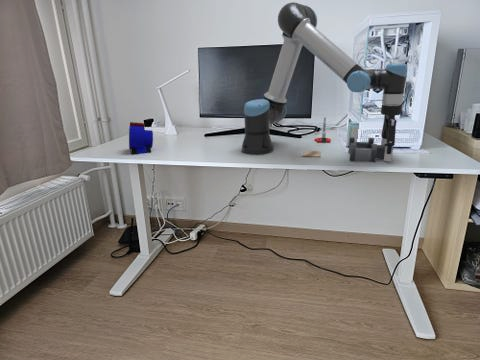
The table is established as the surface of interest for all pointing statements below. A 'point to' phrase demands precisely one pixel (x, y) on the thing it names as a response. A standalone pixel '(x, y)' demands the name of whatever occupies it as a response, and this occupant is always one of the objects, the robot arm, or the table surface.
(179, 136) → the table surface
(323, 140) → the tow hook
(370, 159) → the housing
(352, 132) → the can
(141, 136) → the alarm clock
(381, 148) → the plug
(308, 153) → the cork mat
